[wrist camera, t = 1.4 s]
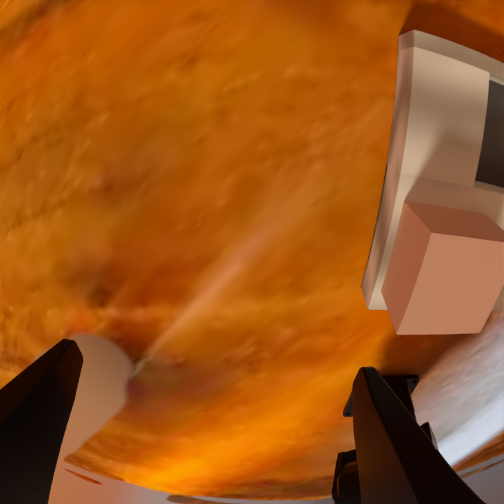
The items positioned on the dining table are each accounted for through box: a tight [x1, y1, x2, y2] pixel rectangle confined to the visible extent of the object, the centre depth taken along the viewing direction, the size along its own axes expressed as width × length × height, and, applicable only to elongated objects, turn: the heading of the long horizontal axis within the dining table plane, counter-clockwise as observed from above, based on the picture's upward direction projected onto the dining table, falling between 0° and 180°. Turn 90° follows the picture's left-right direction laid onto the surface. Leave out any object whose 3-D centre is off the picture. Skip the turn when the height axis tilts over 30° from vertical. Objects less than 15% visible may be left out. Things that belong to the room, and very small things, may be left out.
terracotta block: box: [381, 201, 504, 335], centre depth 15 cm, size 6×6×4 cm
